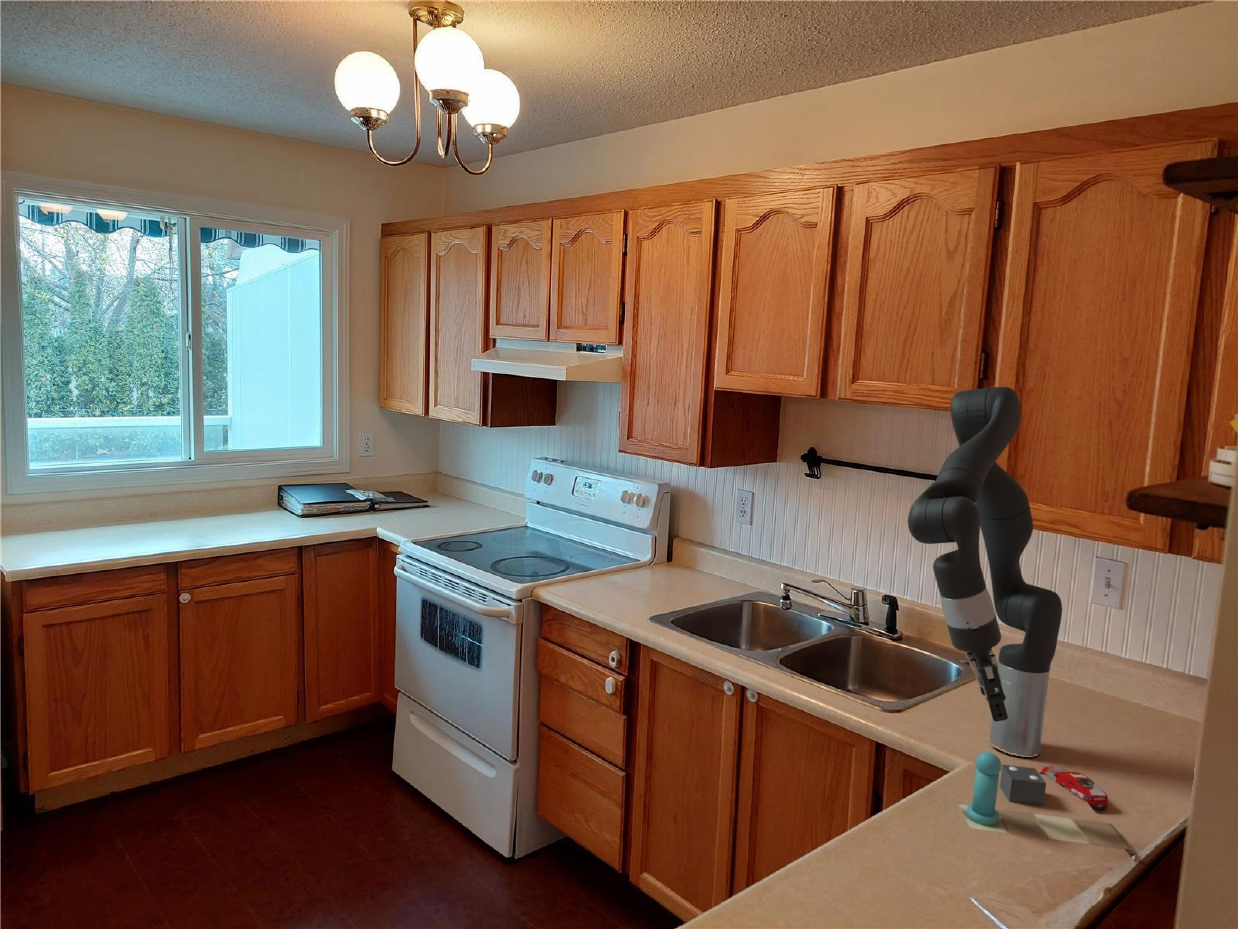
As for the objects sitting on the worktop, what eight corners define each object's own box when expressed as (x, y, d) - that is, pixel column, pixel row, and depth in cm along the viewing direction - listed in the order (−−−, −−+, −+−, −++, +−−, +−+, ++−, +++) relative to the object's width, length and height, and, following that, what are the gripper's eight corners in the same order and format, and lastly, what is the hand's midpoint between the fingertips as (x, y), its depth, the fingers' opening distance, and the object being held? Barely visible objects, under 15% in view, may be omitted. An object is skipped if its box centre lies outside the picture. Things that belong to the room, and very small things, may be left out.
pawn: (963, 808, 141) (970, 745, 139) (993, 812, 140) (1001, 748, 139) (970, 824, 136) (978, 758, 135) (1002, 828, 135) (1009, 761, 134)
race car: (1032, 777, 158) (1035, 757, 158) (1058, 776, 159) (1060, 756, 159) (1084, 814, 145) (1087, 792, 145) (1112, 812, 146) (1114, 790, 146)
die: (998, 794, 150) (1002, 763, 149) (1031, 798, 149) (1035, 767, 148) (1008, 809, 144) (1011, 778, 144) (1042, 814, 144) (1046, 782, 143)
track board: (952, 810, 143) (953, 801, 143) (1110, 830, 140) (1111, 822, 139) (965, 838, 134) (966, 829, 134) (1135, 861, 131) (1136, 852, 131)
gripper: (938, 604, 143) (962, 690, 146) (953, 639, 130) (979, 733, 132) (984, 594, 141) (1008, 681, 144) (1004, 628, 128) (1030, 724, 130)
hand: (994, 706), depth 138 cm, fingers open, 8 cm apart
